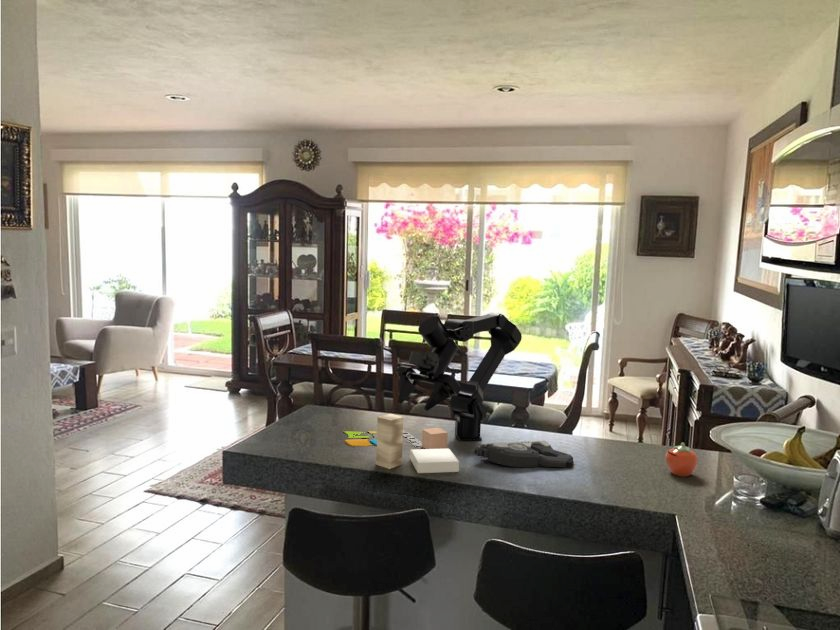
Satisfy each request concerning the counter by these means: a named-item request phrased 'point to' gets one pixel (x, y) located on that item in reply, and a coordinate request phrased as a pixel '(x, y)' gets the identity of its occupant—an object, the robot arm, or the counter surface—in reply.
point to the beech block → (389, 441)
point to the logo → (365, 441)
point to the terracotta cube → (434, 438)
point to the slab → (434, 460)
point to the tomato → (681, 460)
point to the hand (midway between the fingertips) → (411, 406)
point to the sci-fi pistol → (524, 454)
